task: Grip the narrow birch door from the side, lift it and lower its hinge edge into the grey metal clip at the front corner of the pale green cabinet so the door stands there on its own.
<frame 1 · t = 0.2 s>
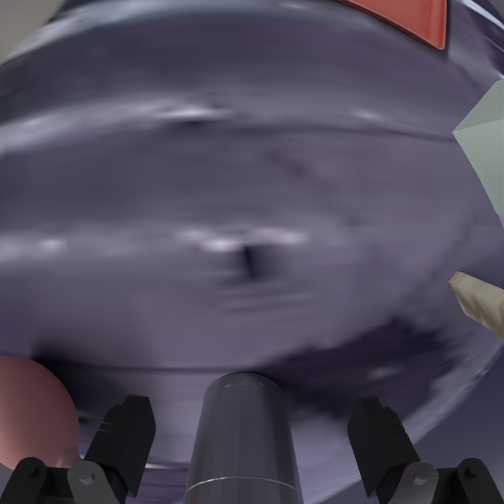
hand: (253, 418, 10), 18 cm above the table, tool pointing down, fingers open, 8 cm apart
door: (461, 293, 28), on the table
balloon: (63, 396, 31), on the table
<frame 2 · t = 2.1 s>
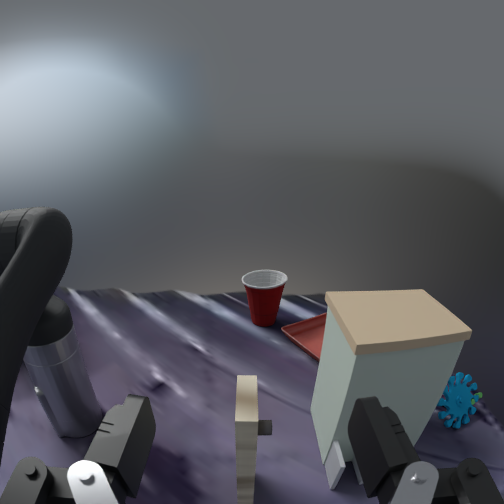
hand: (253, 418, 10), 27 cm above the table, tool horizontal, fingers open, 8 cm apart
gear: (451, 416, 36), on the table
door: (245, 488, 28), on the table
plant saucer: (333, 346, 62), on the table
cabinet: (342, 470, 30), on the table
plastic cup: (262, 322, 73), on the table
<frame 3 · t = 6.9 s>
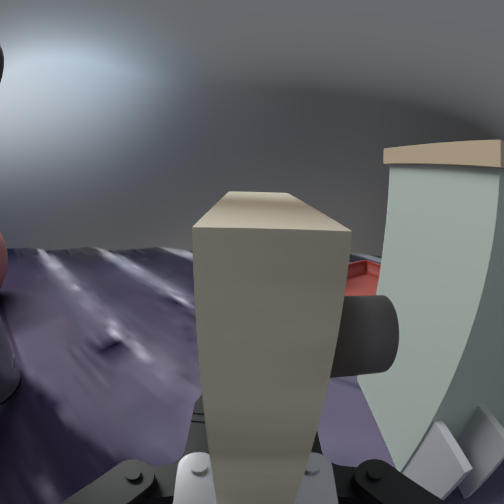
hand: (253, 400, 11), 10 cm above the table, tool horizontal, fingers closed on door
plant saucer: (369, 301, 45), on the table
cabinet: (433, 479, 13), on the table
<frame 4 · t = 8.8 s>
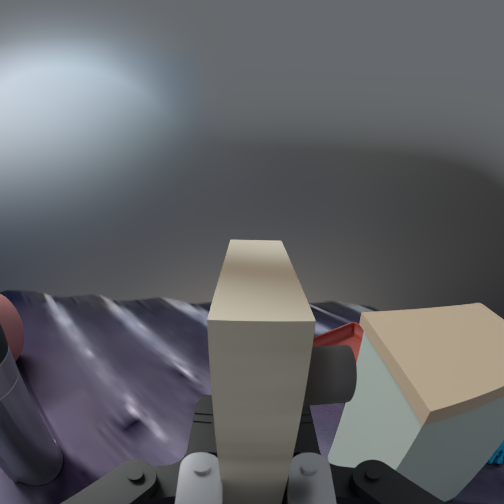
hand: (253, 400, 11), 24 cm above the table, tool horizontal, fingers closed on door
gear: (493, 448, 23), on the table
plant saucer: (351, 369, 49), on the table
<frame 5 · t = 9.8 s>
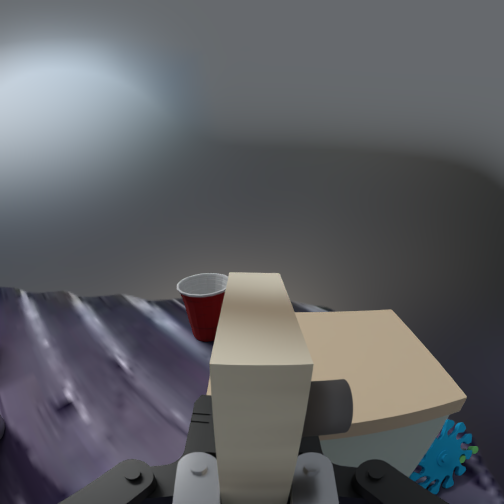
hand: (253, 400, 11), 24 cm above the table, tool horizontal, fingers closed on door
gear: (432, 473, 24), on the table
plastic cup: (206, 335, 60), on the table
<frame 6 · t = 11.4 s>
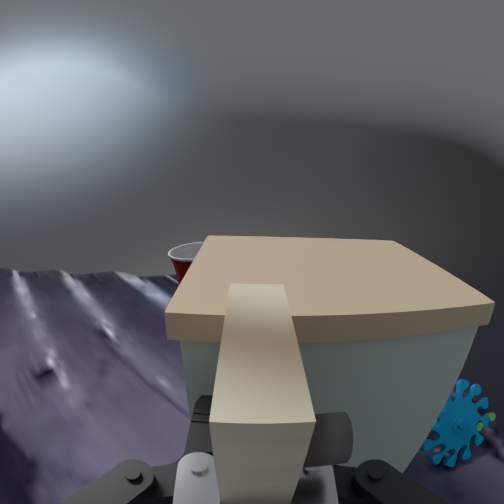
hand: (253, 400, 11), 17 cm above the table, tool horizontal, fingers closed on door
gear: (446, 445, 22), on the table
plastic cup: (198, 307, 58), on the table
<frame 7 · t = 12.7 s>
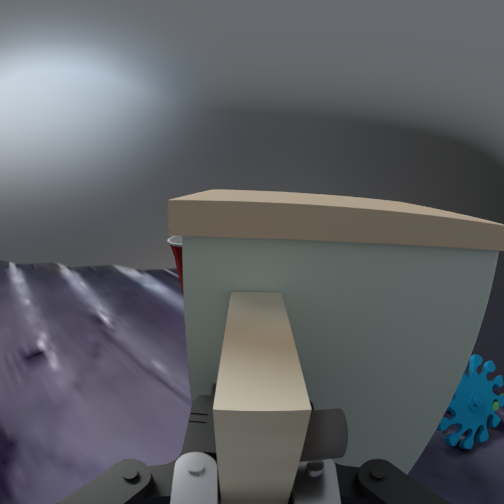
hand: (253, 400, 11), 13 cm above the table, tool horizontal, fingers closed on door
gear: (461, 428, 21), on the table
plastic cup: (197, 297, 57), on the table
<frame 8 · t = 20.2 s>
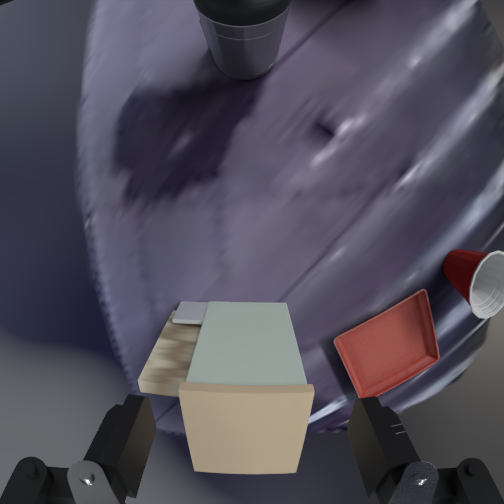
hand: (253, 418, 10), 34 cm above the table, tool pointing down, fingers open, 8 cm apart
door: (191, 316, 46), on the table
plant saucer: (386, 342, 49), on the table
cabinet: (200, 315, 46), on the table
plastic cup: (453, 262, 45), on the table
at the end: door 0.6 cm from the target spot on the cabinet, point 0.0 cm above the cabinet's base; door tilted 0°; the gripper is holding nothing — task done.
